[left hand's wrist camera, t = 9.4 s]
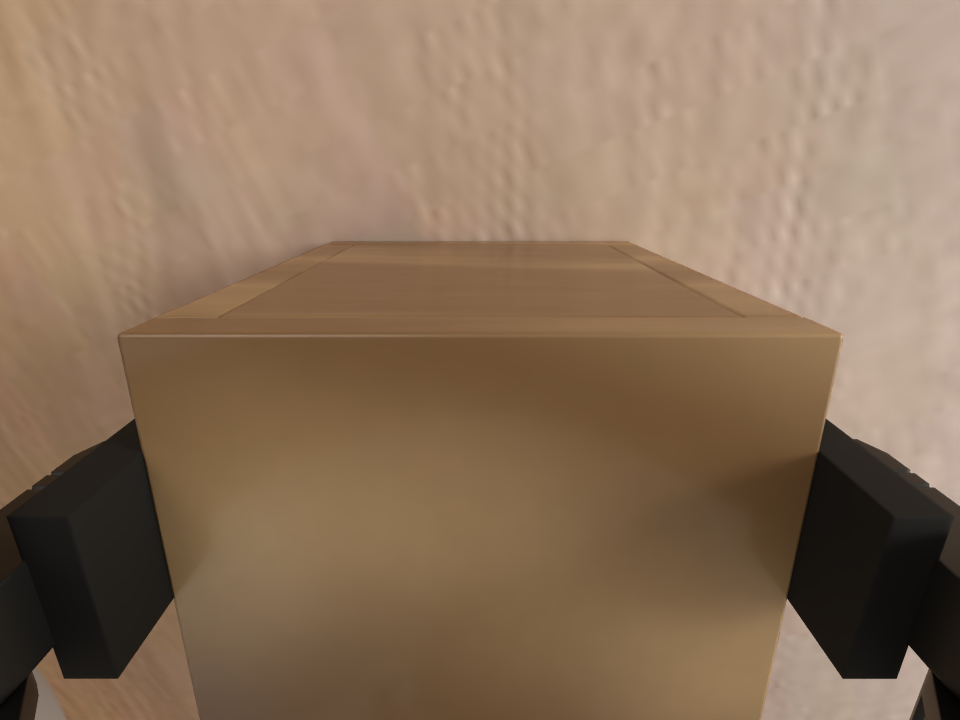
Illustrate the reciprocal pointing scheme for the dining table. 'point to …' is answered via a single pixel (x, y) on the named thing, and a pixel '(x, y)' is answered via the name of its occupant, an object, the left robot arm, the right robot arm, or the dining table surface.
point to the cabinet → (480, 483)
